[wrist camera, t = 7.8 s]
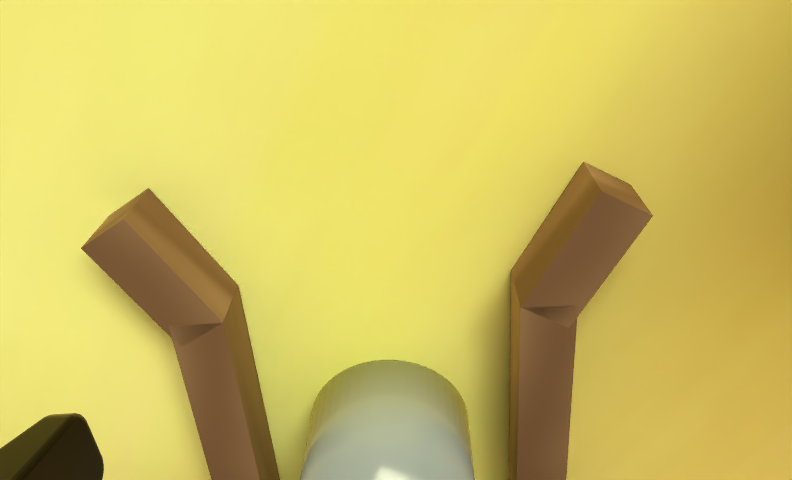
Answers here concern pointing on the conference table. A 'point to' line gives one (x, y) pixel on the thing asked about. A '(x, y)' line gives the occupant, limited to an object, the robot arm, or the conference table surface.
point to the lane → (232, 353)
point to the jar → (388, 426)
